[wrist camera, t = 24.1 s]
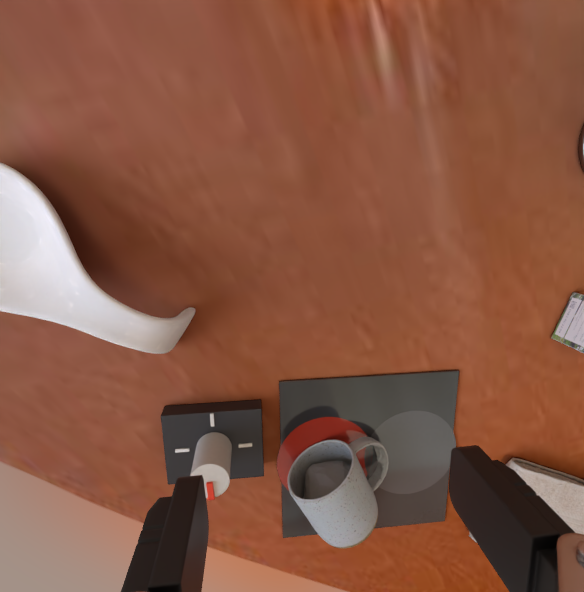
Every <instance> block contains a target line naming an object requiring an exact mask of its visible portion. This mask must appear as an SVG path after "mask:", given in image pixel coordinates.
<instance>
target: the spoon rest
mask: <svg viewBox="0 0 584 592" xmlns="http://www.w3.org/2000/svg"><path fill="white" fill-rule="evenodd" d="M0 311H3V312H8V313H13V314H19V315H24V316H30V317H34V318H39V319H43V320H48V321H52V322H56V323H59V324H62V325H66V326H69V327H72V328H75V329H77V330H80V331H83V332H85V333H88V334H90V335H93V336H95V337H98V338H100V339H103V340H106V341H109V342H112V343H114V344H118V345H121V346H124V347H128V348H132V349H135V350H139V351H143V352H148V353H157V354H163V353H167V352H169V351H171V350H172V349H173V348H174V347H175V345H176V344H177V342H178V341H179V339H180V338H181V336H182V335H183V333H184V331H185V330H186V328H187V326H188V325H189V323H190V322H191V320H192V318H193V316H194V314H195V311H196V310H195V308H192V307H189V308H187V309H185V310H183V311H182V312H181V313H180V314H179V315H178V316H176V317H172V318H159V317H154V316H151V315H147V314H145V313H142V312H139V311H137V310H135V309H132V308H130V307H128V306H126V305H124V304H123V303H121V302H119V301H117V300H116V299H114V298H113V297H111V296H109V295H108V294H107V293H105V292H104V291H103V290H102V289H101V288H100V287H98V286H97V285H96V283H95V282H94V281H93V280H92V279H91V277H90V276H89V275H88V273H87V272H86V270H85V269H84V267H83V265H82V263H81V261H80V260H79V258H78V255H77V253H76V251H75V249H74V246H73V244H72V242H71V240H70V237H69V235H68V233H67V231H66V229H65V227H64V225H63V223H62V221H61V219H60V217H59V215H58V214H57V212H56V210H55V209H54V207H53V206H52V204H51V203H50V201H49V200H48V199H47V197H46V196H45V195H44V194H43V193H42V191H41V190H40V189H39V188H38V187H37V186H36V185H35V184H34V183H32V182H31V181H30V180H29V179H28V178H26V177H25V176H24V175H22V174H21V173H20V172H18V171H16V170H15V169H13V168H11V167H9V166H7V165H5V164H3V163H0Z"/></svg>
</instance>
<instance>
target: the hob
mask: <svg viewBox="0 0 584 592" xmlns="http://www.w3.org/2000/svg"><path fill="white" fill-rule="evenodd" d="M458 377H459V370H448V371H432V372H416V373H400V374H384V375H368V376H352V377H336V378H320V379H304V380H288V381H279V397H280V439H281V447H280V450H279V452H278V457H277V471H278V475H279V477H280V480H281V482H282V523H283V538H287V537H296V536H306V535H315V534H318V533H317V532H316V531H315V529H314V528H313V526H312V525H311V523H310V522H309V520H308V519H307V517H306V516H305V515H304V513H303V512H302V510H301V509H300V507H299V506H298V504H297V503H296V501H295V500H294V499H293V497H292V496H291V494H290V492H289V489H288V474H289V471H290V468H291V466H292V464H293V462H294V461H295V460H296V458H297V457H298V456H299V455H300V454H301V453H302V452H303V451H304V450H306V449H307V448H309V447H310V446H312V445H314V444H316V443H319V442H321V441H325V440H341V441H343V442H345V443H347V444H349V443H351V442H353V441H354V440H356V439H358V438H361V437H371V438H373V439H375V440H377V441H378V442H380V443H382V445H383V446H384V447H385V449H386V452H387V454H388V462H389V464H388V470H387V474H386V476H385V478H384V480H383V481H382V483H381V484H380V485H379V487H378V488H377V489H376V490H375V491H374V495H375V498H376V502H377V507H378V519H377V523H376V525H375V527H374V528H382V527H392V526H402V525H411V524H421V523H430V522H440V521H445V513H446V502H447V492H448V481H449V471H450V461H451V451H452V449H453V448H456V441H455V436H454V433H453V429H454V419H455V408H456V398H457V387H458ZM356 456H357V458H358V460H359V463H360V465H361V467H362V469H363V471H364V474H365V476H366V478H367V480H369V478H370V477H371V476H372V474H373V473H374V471H375V469H376V467H377V464H378V460H377V455H376V451H375V449H374V446H373V445H370V446H367V447H365V448H363V449H361V450H359V451H358V452H357V453H356Z"/></svg>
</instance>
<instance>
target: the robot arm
mask: <svg viewBox="0 0 584 592" xmlns="http://www.w3.org/2000/svg"><path fill="white" fill-rule="evenodd" d="M579 159H580V163H581V166H582V168H583V170H584V125H583V128H582V131H581V134H580V139H579ZM449 493H450V498H451V501H452V504H453V506H454V508H455V510H456V512H457V513H458V515H459V516H460V518H461V519H462V521H463V522H464V524H465V525H466V527H467V528H468V530H469V531H470V533H471V534H472V536H473V537H474V539H475V540H476V542H477V543H478V545H479V546H480V548H481V549H482V551H483V552H484V554H485V555H486V557H487V558H488V560H489V561H490V563H491V564H492V566H493V567H494V569H495V570H496V572H497V573H498V575H499V576H500V578H501V579H502V581H503V582H504V584H505V585H506V587H507V588H508V590H509V591H510V592H584V534H579V533H575V532H574V531H573V530H572V529H571V528H570V527H569V526H568V525H567V524H566V523H565V521H564V520H563V519H562V518H561V517H560V516H559V515H558V514H557V513H556V512H555V511H554V510H553V509H552V508H551V507H550V506H549V505H548V504H547V503H546V502H545V501H544V500H543V499H542V498H541V497H540V496H539V495H538V496H537V494H536V492H535V491H534V490H533V489H532V488H531V487H530V486H529V485H527V484H526V482H525V481H524V480H523V479H522V478H521V477H520V476H519V475H518V474H517V473H516V472H515V471H514V470H513V469H511V468H510V467H508V466H506V465H505V464H503V463H501V462H500V461H498V460H493V461H492V460H491V459H490V458H489V457H488V456H487V454H486V453H485V452H484V451H483V450H482V449H481V448H480V447H479V446H476V445H474V446H465V447H456V448H453V449H452V451H451V461H450V480H449ZM208 529H209V526H208V512H207V503H206V495H205V487H204V479H203V476H202V475H196V476H187V477H179V478H177V480H176V484H175V488H174V491H173V495H172V497H163V498H159V499H158V500H157V501H156V503H155V504H154V505H153V506H152V508H151V509H150V510H149V511H148V513H147V516H146V519H145V522H144V525H143V530H142V531H141V534H140V537H139V540H138V544H137V546H136V549H135V552H134V555H133V558H132V561H131V564H130V566H129V569H128V572H127V575H126V578H125V581H124V585H123V587H122V590H121V592H201V588H202V581H203V574H204V566H205V558H206V551H207V543H208Z"/></svg>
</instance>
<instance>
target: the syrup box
mask: <svg viewBox="0 0 584 592" xmlns="http://www.w3.org/2000/svg"><path fill="white" fill-rule="evenodd" d="M552 339H554V340H556V341H558V342H561V343H563V344H565V345H567V346H569V347H571V348H574V349H576V350H578V351H580V352H582V353H584V295H583V294H579V293H575V292H574V293H572V295H571V297H570V299H569V301H568V304H567V305H566V308H565V310H564V312H563V314H562V316H561V318H560V320H559V322H558V324H557V326H556V329H555V331H554V333H553V335H552Z"/></svg>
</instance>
